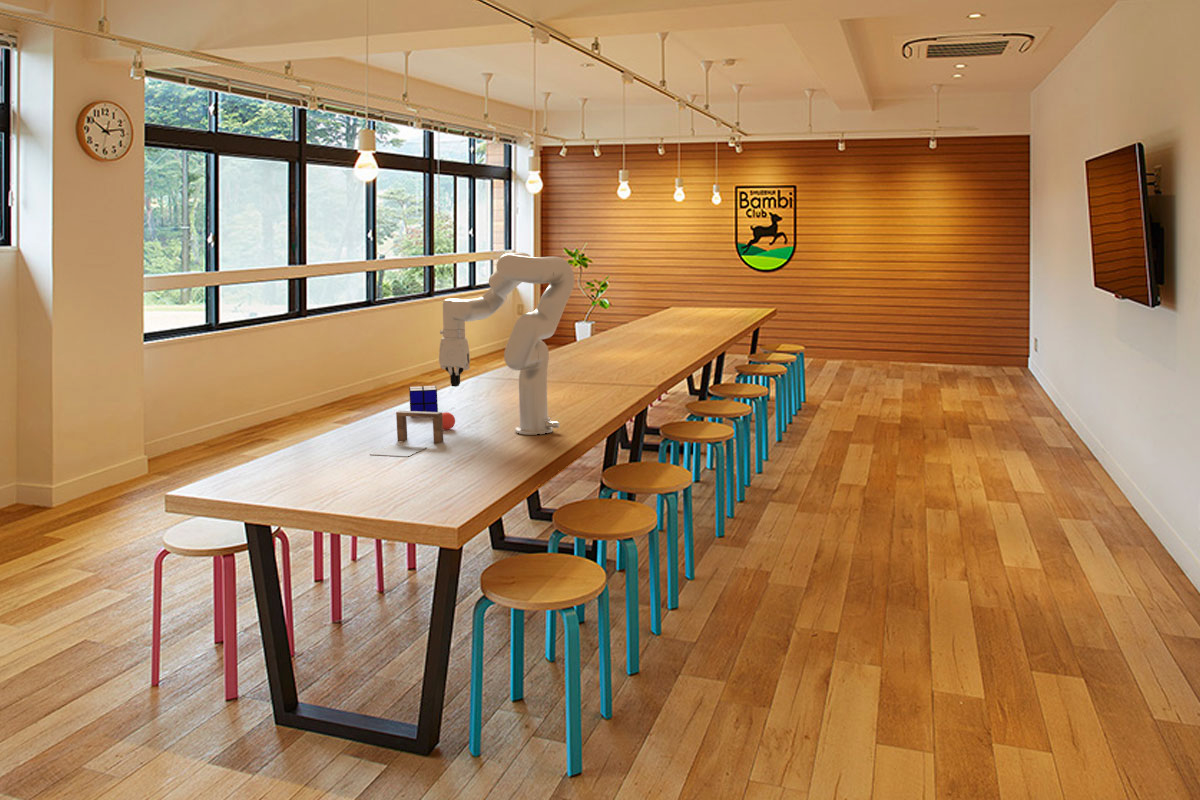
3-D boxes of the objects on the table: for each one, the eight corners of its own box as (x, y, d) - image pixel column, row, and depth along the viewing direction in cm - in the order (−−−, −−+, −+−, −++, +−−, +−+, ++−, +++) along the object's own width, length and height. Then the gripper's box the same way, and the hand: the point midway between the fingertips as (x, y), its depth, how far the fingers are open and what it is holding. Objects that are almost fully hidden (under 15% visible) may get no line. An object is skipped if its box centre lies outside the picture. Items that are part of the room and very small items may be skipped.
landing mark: (426, 448, 320) (426, 447, 320) (407, 457, 307) (407, 456, 307) (390, 446, 323) (390, 445, 323) (369, 454, 311) (369, 454, 311)
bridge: (401, 439, 333) (400, 410, 331) (443, 441, 329) (442, 412, 327) (397, 441, 330) (396, 412, 329) (439, 443, 326) (438, 414, 324)
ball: (458, 428, 350) (457, 411, 349) (451, 431, 345) (450, 414, 344) (442, 427, 352) (441, 410, 351) (435, 430, 346) (434, 413, 345)
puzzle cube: (410, 417, 372) (409, 390, 370) (410, 412, 382) (409, 386, 380) (438, 416, 374) (437, 389, 372) (437, 411, 384) (435, 385, 382)
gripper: (430, 334, 350) (431, 386, 354) (469, 336, 346) (470, 388, 350) (439, 332, 358) (440, 383, 361) (478, 333, 353) (479, 385, 357)
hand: (455, 385), depth 355 cm, fingers closed
